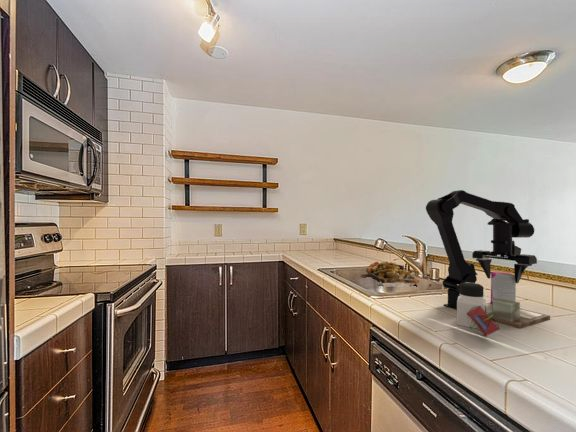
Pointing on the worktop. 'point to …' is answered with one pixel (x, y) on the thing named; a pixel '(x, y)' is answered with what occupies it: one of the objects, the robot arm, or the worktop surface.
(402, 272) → the brown irregular low mound
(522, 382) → the worktop surface
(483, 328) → the geometric puzzle
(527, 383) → the worktop surface
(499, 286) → the supplement box
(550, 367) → the worktop surface
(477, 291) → the medicine bottle
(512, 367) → the worktop surface
